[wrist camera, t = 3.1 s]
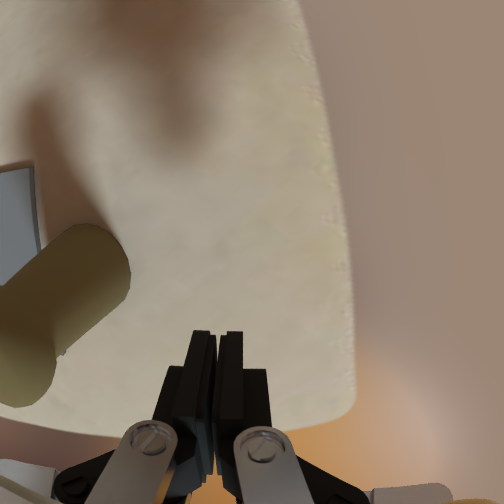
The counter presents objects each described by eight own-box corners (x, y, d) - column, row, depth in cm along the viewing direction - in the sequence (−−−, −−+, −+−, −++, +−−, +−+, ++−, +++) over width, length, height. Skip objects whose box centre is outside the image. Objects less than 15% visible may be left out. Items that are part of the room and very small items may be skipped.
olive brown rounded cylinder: (42, 273, 17) (-62, 355, 7) (76, 204, 16) (-63, 262, 5) (105, 327, 18) (28, 445, 8) (148, 265, 17) (55, 389, 7)
